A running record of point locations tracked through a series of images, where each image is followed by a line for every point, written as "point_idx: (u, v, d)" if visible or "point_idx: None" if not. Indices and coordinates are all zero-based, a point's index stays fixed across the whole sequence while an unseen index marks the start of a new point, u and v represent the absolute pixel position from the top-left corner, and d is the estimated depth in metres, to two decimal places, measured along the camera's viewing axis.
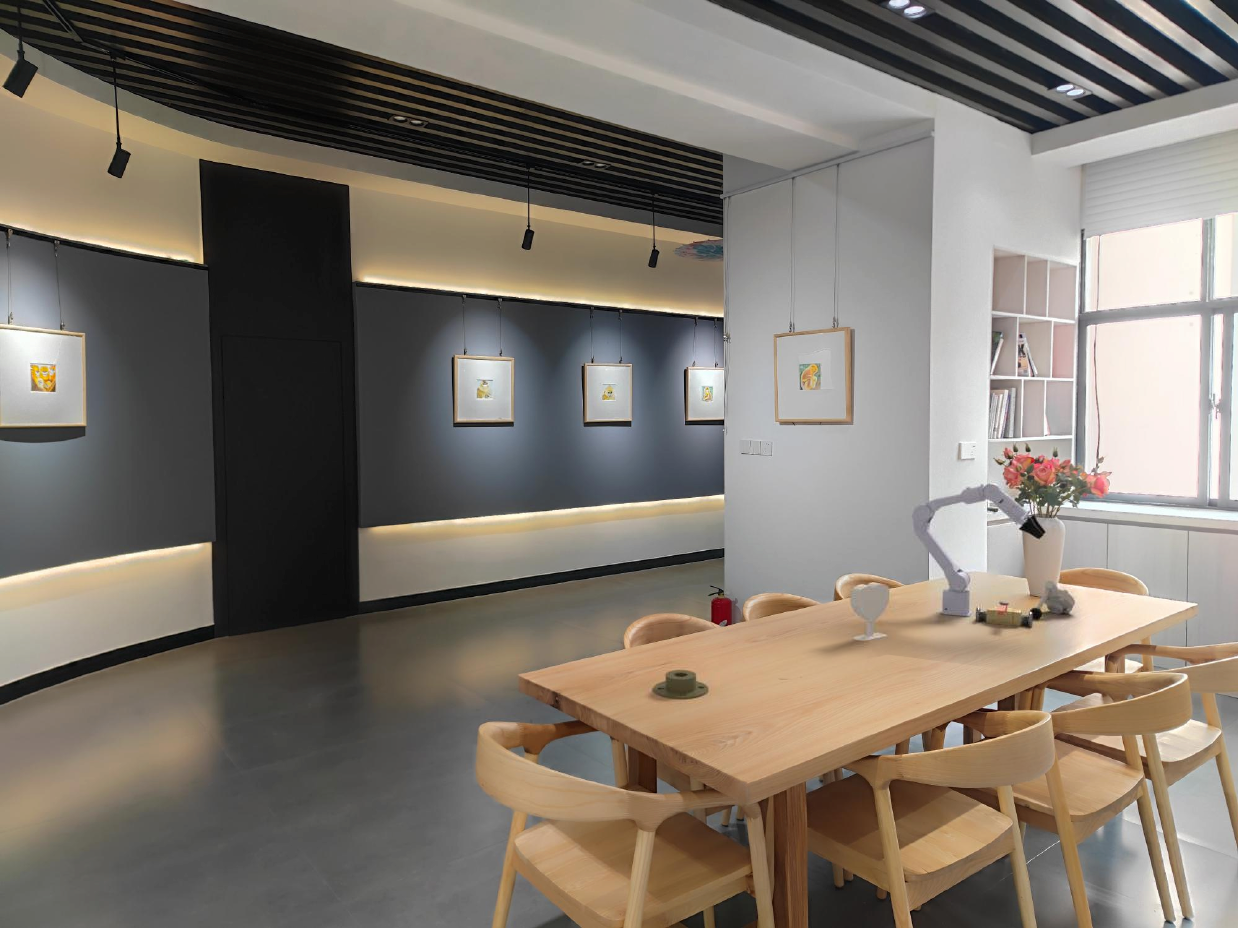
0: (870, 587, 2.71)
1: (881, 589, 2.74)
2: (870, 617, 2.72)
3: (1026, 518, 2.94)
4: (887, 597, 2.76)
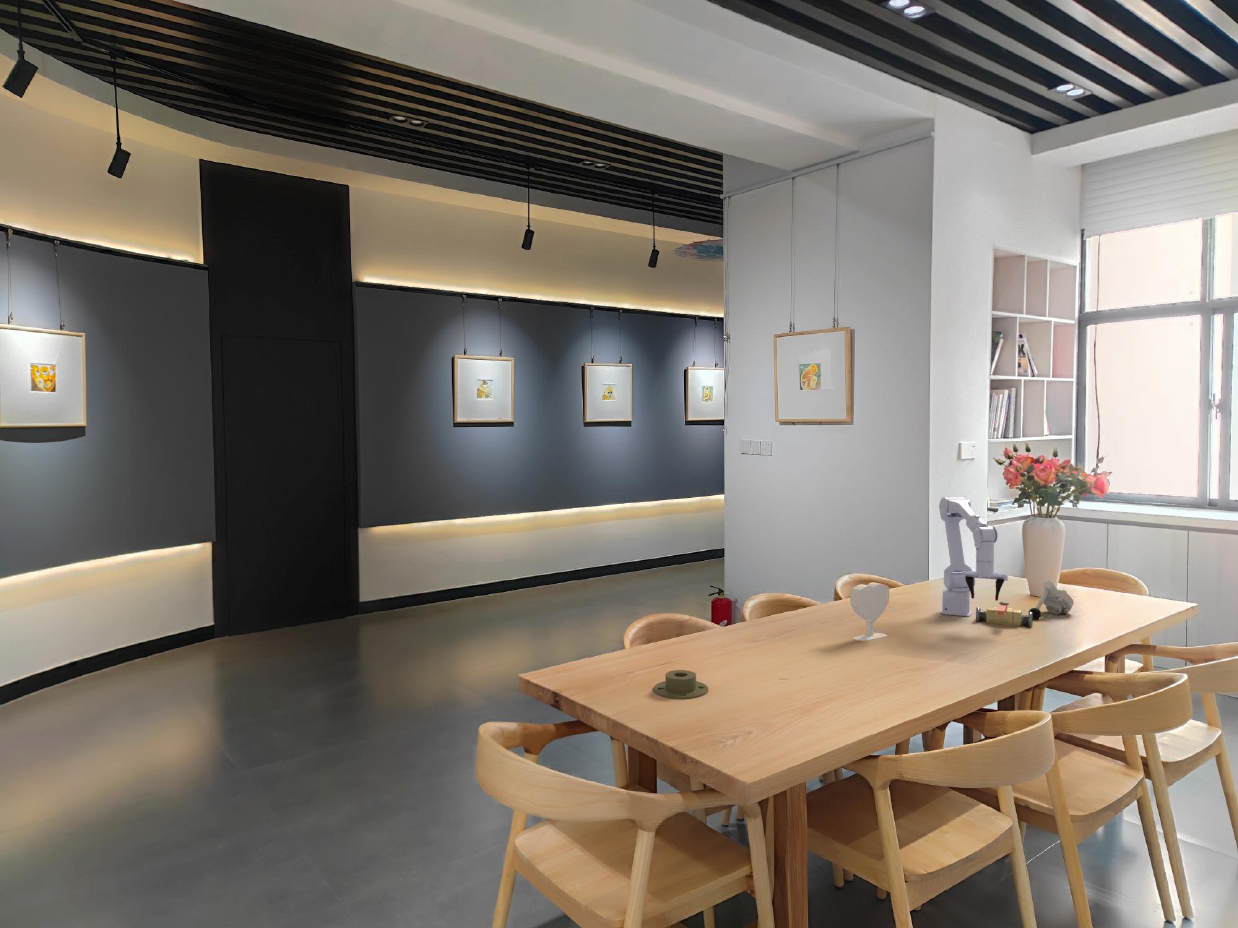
0: (870, 587, 2.71)
1: (881, 589, 2.74)
2: (870, 617, 2.72)
3: (996, 577, 2.82)
4: (887, 597, 2.76)
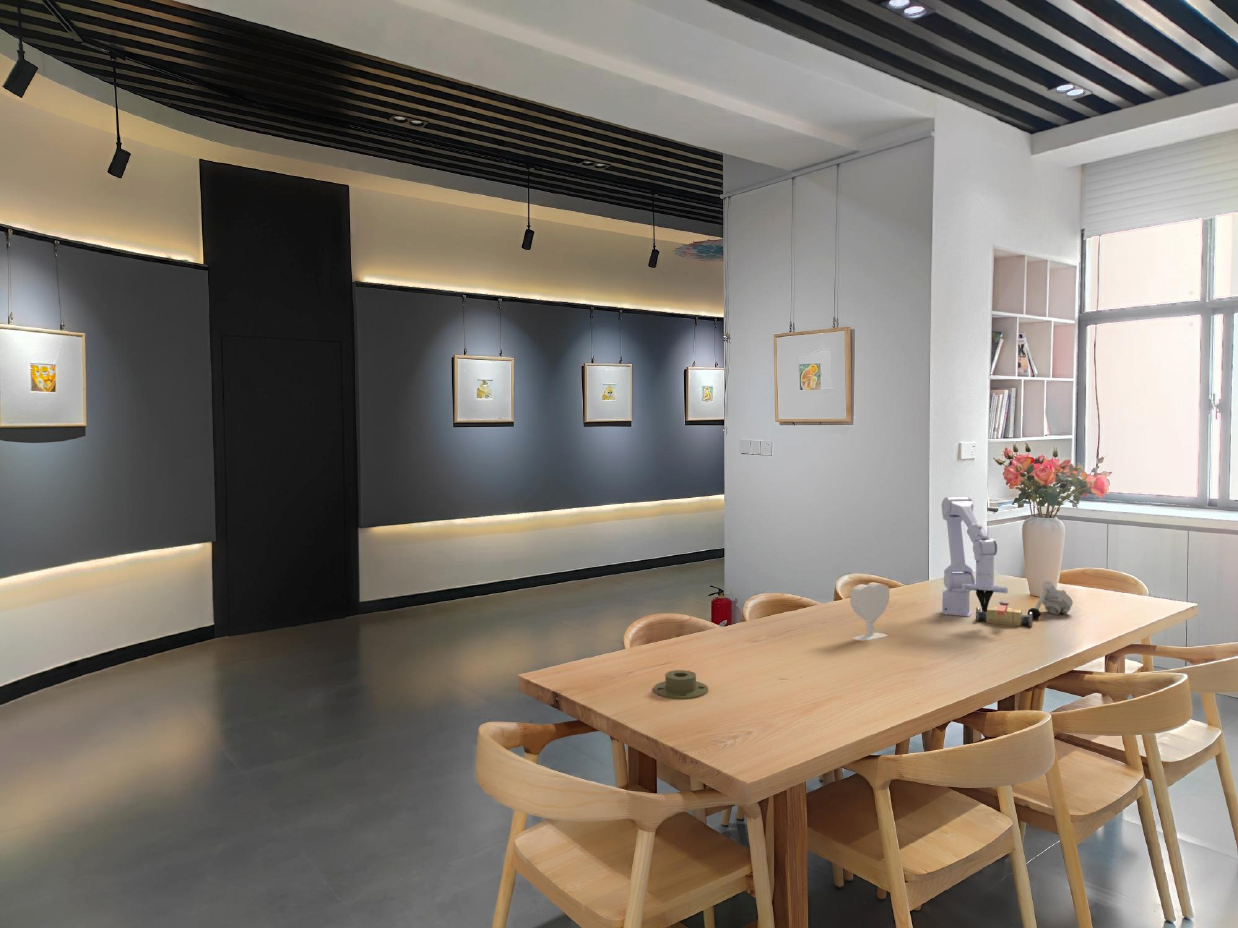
0: (870, 587, 2.71)
1: (881, 589, 2.74)
2: (870, 617, 2.72)
3: (995, 590, 2.82)
4: (887, 597, 2.76)
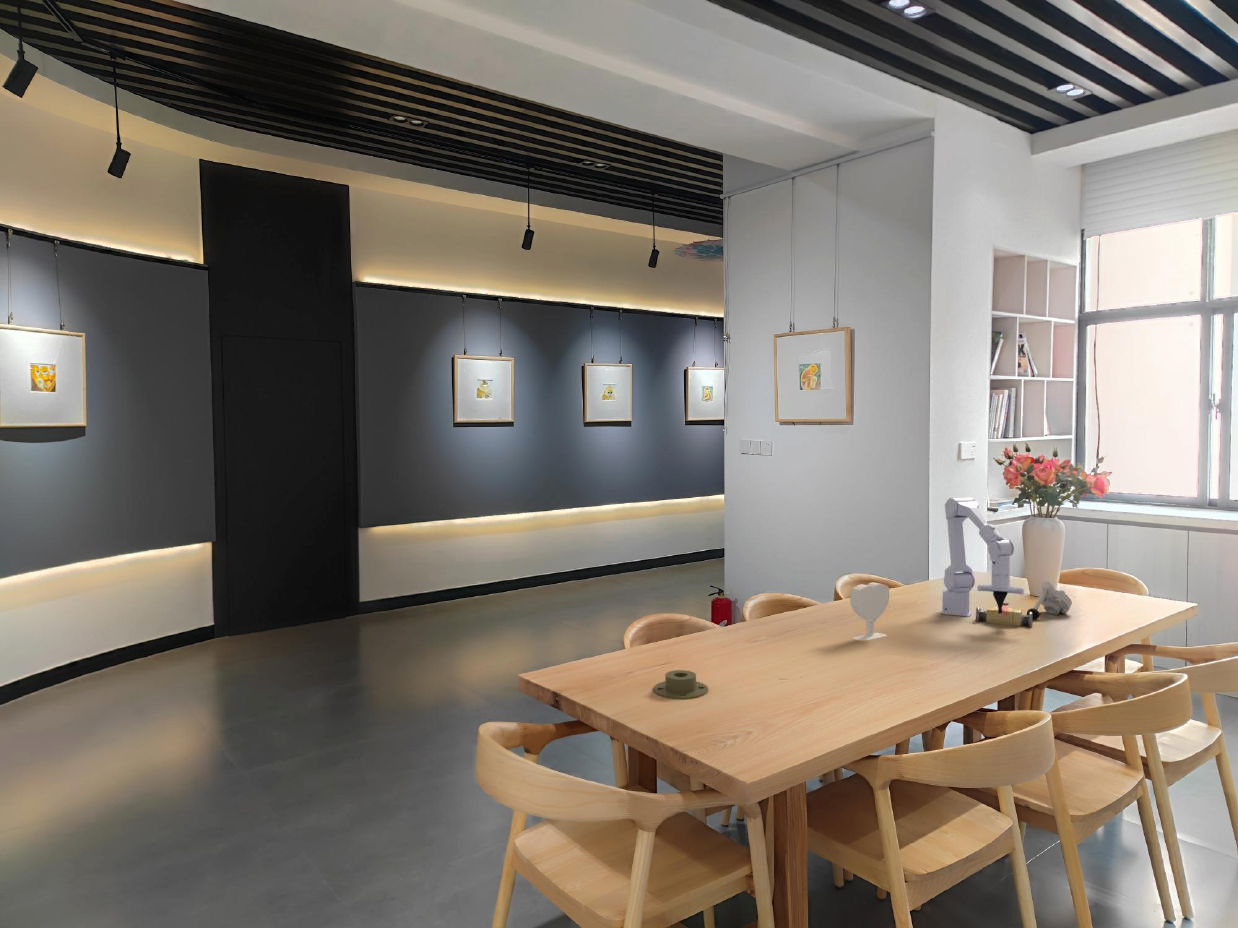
0: (870, 587, 2.71)
1: (881, 589, 2.74)
2: (870, 617, 2.72)
3: (1011, 591, 2.80)
4: (887, 597, 2.76)
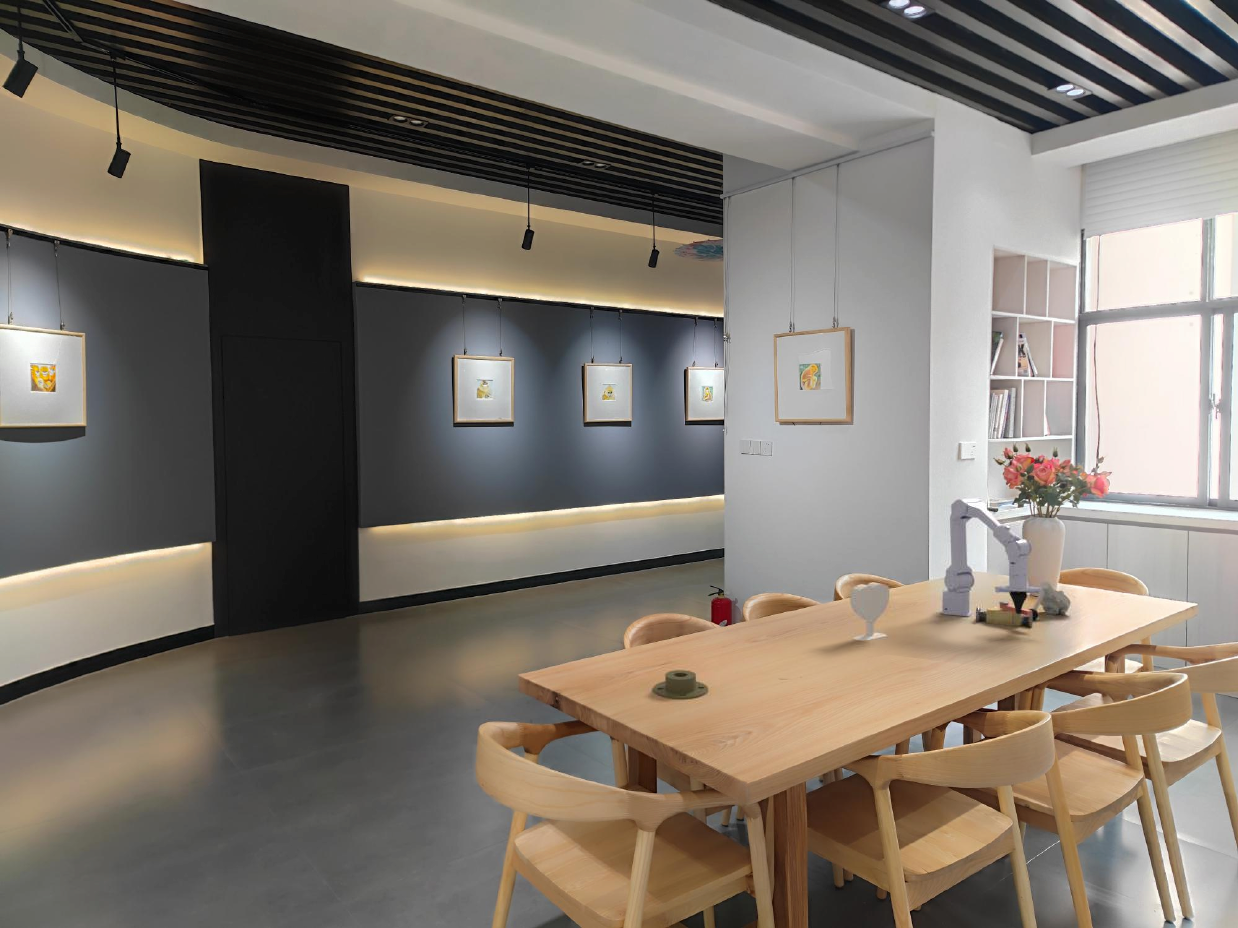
0: (870, 587, 2.71)
1: (881, 589, 2.74)
2: (870, 617, 2.72)
3: (1029, 591, 2.79)
4: (887, 597, 2.76)
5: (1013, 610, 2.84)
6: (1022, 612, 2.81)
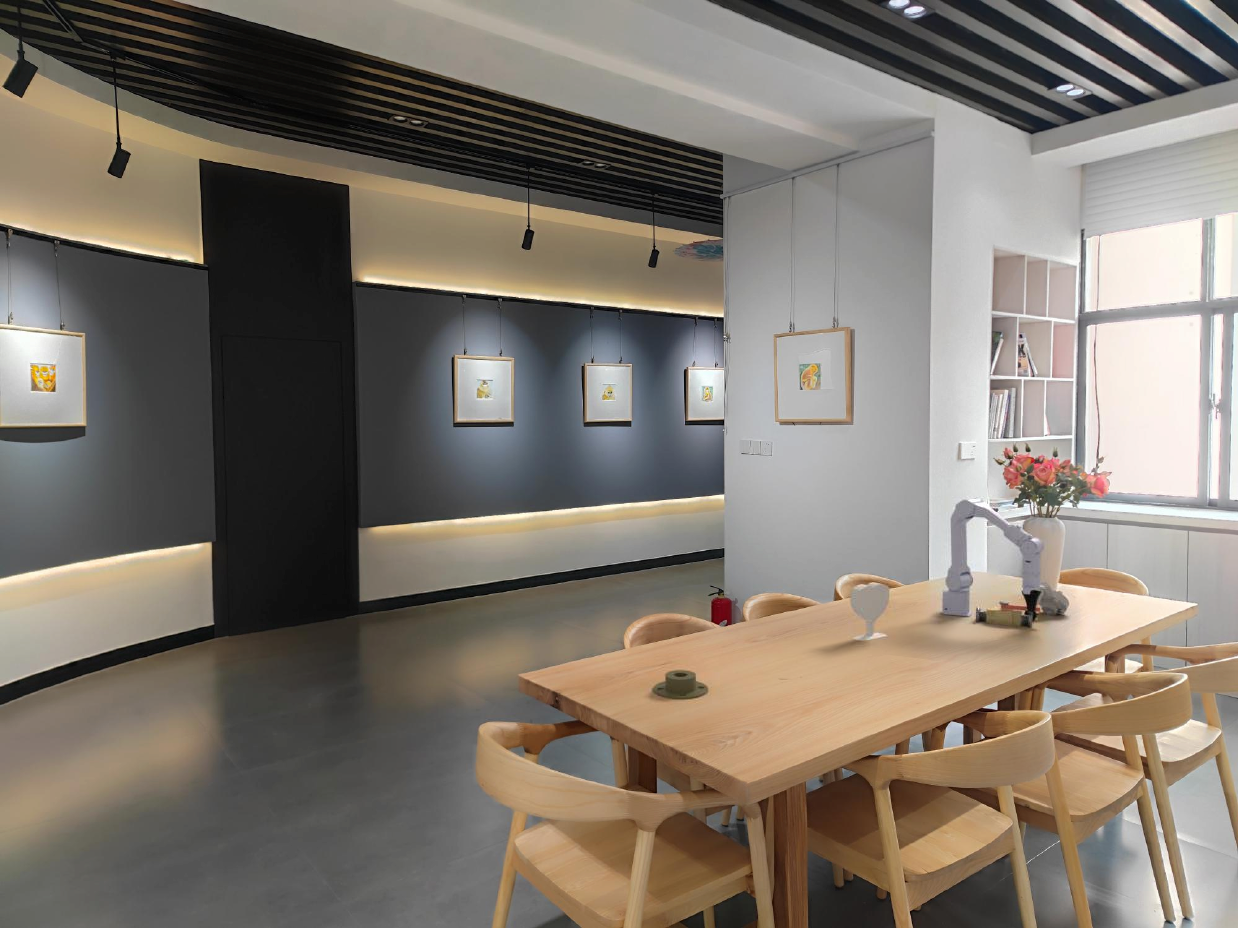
0: (870, 587, 2.71)
1: (881, 589, 2.74)
2: (870, 617, 2.72)
3: None
4: (887, 597, 2.76)
5: (1020, 609, 2.86)
6: None
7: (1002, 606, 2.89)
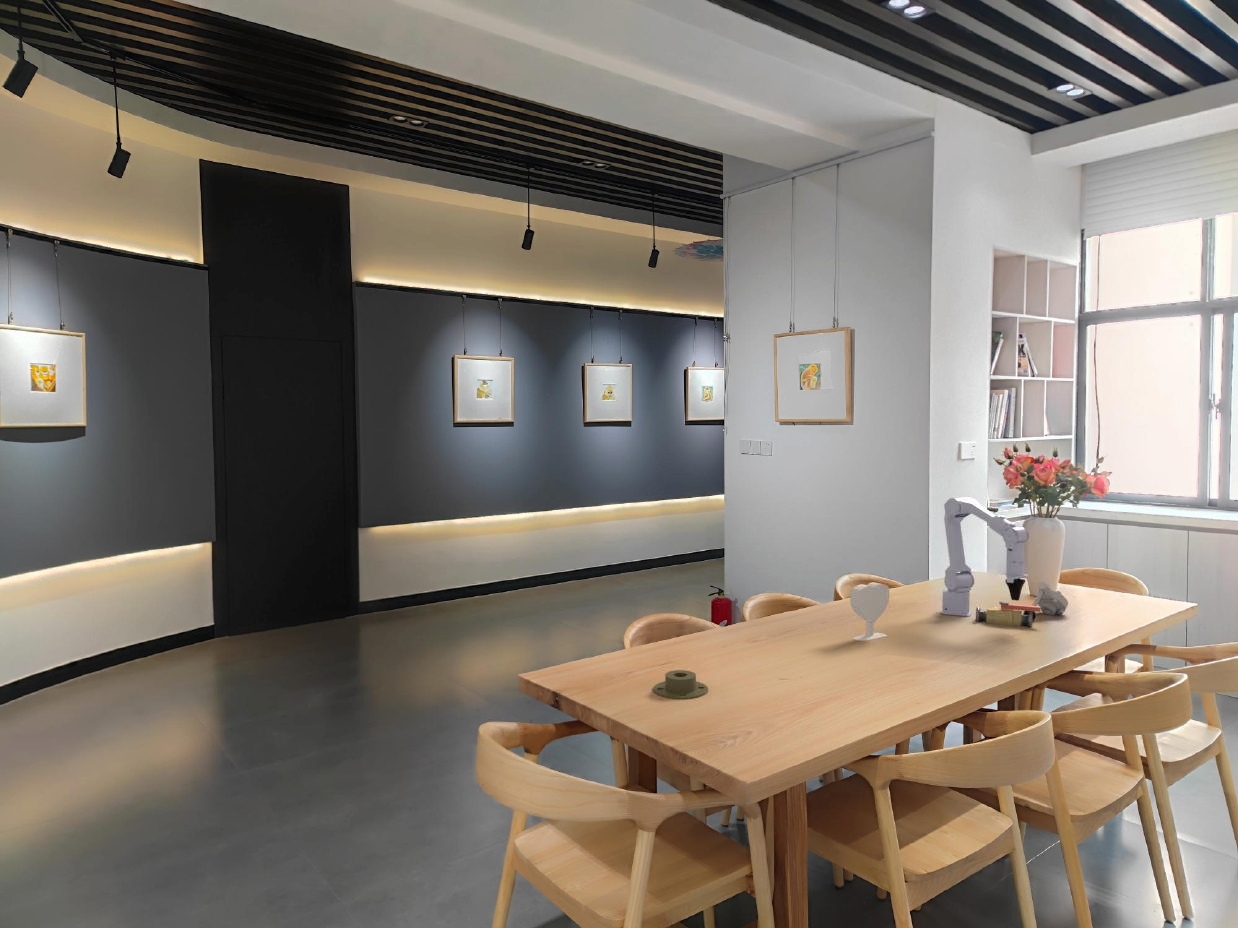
0: (870, 587, 2.71)
1: (881, 589, 2.74)
2: (870, 617, 2.72)
3: None
4: (887, 597, 2.76)
5: (1020, 608, 2.86)
6: (1033, 609, 2.85)
7: (1002, 606, 2.89)
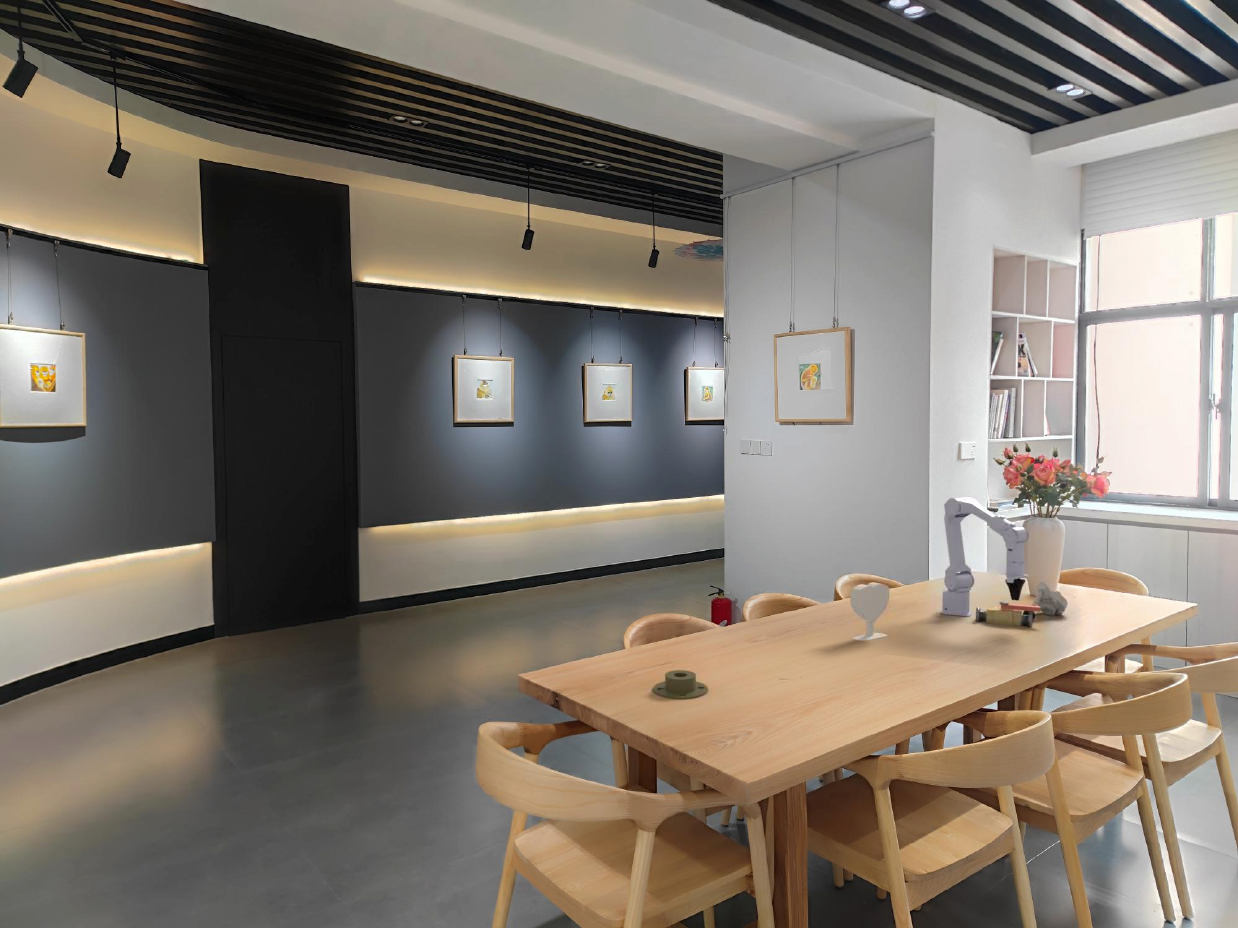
0: (870, 587, 2.71)
1: (881, 589, 2.74)
2: (870, 617, 2.72)
3: None
4: (887, 597, 2.76)
5: (1020, 608, 2.86)
6: (1033, 609, 2.85)
7: (1002, 606, 2.89)
